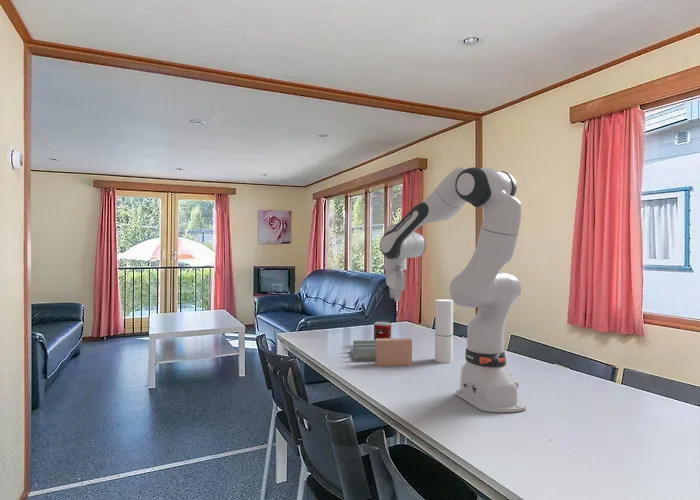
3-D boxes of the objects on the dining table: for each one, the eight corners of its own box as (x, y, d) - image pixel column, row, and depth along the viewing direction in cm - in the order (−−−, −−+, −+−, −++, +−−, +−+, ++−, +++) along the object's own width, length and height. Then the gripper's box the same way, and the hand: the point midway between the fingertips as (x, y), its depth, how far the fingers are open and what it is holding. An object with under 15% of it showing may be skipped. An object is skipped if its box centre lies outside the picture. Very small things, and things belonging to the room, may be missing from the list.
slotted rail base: (407, 360, 176) (408, 348, 176) (354, 361, 174) (355, 349, 174) (399, 350, 193) (399, 339, 193) (350, 351, 191) (350, 340, 191)
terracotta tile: (411, 365, 170) (412, 340, 170) (376, 366, 169) (377, 340, 168) (409, 362, 174) (409, 338, 174) (375, 363, 173) (375, 338, 172)
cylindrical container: (451, 358, 181) (451, 299, 180) (453, 363, 174) (454, 301, 173) (434, 358, 181) (434, 299, 181) (435, 362, 174) (436, 301, 174)
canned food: (371, 345, 204) (371, 322, 204) (385, 343, 207) (385, 321, 207) (378, 348, 197) (379, 325, 197) (393, 347, 200) (394, 323, 200)
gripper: (409, 266, 161) (408, 303, 161) (398, 263, 181) (397, 296, 182) (392, 266, 160) (391, 303, 161) (383, 263, 181) (382, 296, 181)
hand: (394, 299), depth 171 cm, fingers open, 8 cm apart
